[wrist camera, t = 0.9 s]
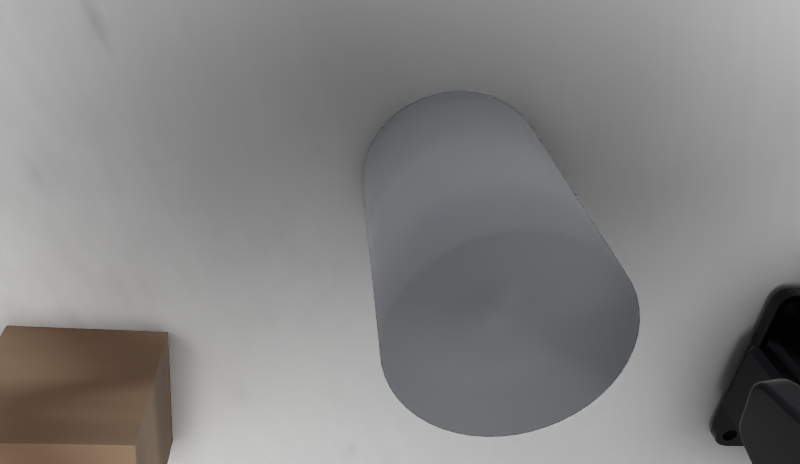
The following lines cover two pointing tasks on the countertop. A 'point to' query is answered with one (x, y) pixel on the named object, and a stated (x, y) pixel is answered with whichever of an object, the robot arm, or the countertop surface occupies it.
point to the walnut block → (84, 396)
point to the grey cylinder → (488, 272)
